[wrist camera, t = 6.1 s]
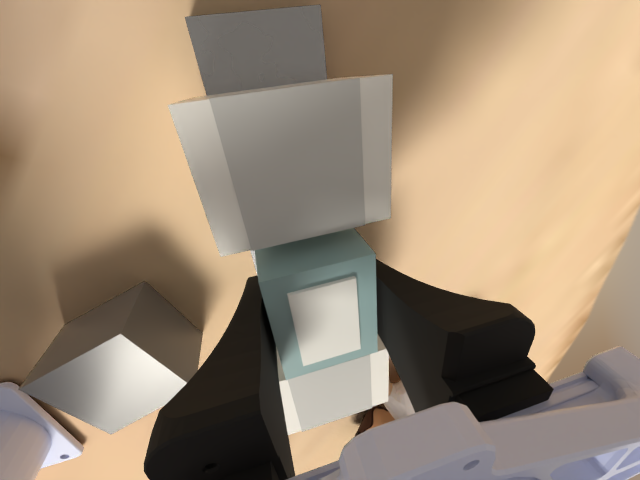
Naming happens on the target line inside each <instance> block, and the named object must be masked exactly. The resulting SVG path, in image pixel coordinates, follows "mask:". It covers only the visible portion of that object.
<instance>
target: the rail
mask: <svg viewBox="0 0 640 480" xmlns="http://www.w3.org/2000/svg"><path fill="white" fill-rule="evenodd" d="M185 20H186V23H187V27H188V31H189V34H190V38H191V41H192V45H193V48H194V52H195V55H196V59H197V63H198V66H199V70H200V73H201V77H202V80H203V84H204V87H205V91H206V95H215V94H222V93H229V92H237V91H244V90H252V89H259V88H266V87H274V86H281V85H288V84H296V83H303V82H311V81H318V80H325V79H327V72H326V61H325V49H324V38H323V27H322V15H321V5H310V6H299V7H288V8H277V9H266V10H255V11H244V12H233V13H222V14H211V15H200V16H189V17H185ZM250 251H251V250H250ZM251 254H252V258H253V261H254V265H255V269H256V272H257V266H256V257H255V250H254V251H251ZM257 276H258V275H257Z"/></svg>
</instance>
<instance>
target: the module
mask: <svg viewBox="0 0 640 480" xmlns="http://www.w3.org/2000/svg"><path fill="white" fill-rule="evenodd" d="M255 257H256V266H257V275H258V283H259V286H260V290H261V294H262V297H263V301H264V304H265V308H266V311H267V315H268V318H269V322H270V326H271V329H272V333H273V336H274V340H275V343H276V347H277V351H278V354H279V358H280V361H281V365H282V368H283V372H284V375H285V379H286V380H289V379H292V378H295V377H298V376H301V375H305V374H308V373H311V372H314V371H318V370H321V369H324V368H327V367H330V366H334V365H337V364H340V363H343V362H346V361H350V360H353V359H356V358H359V357H363V356H366V355H369V354H372V353H375V352H378V341H377V293H376V253H375V252H374V251H373V250H372V249H371V248H370V246H369V245H368V244H367V243H366V242H365V240H364V239H363V238H362V237H361V236H360V235H359V233H358V232H357V231H356V230H355V229H354V228H351V229H346V230H342V231H338V232H333V233H329V234H324V235H320V236H316V237H311V238H307V239H302V240H298V241H294V242H289V243H285V244H280V245H276V246H272V247H267V248H263V249H259V250H255Z"/></svg>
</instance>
